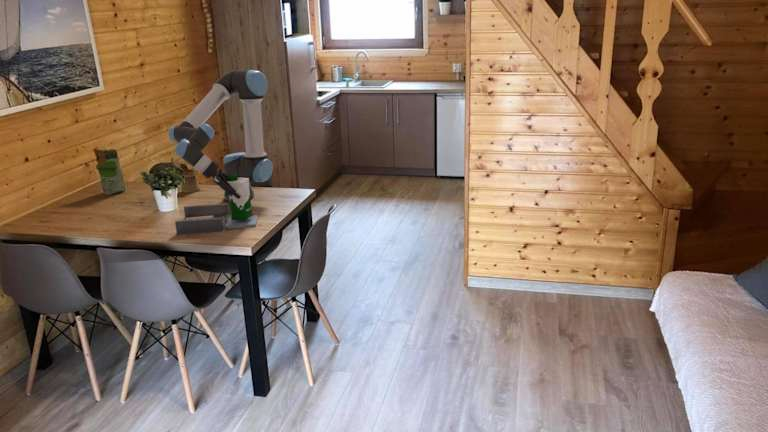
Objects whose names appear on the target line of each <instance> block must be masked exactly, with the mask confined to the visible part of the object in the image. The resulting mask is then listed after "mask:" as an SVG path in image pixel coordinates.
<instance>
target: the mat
mask: <svg viewBox="0 0 768 432" xmlns="http://www.w3.org/2000/svg"><path fill="white" fill-rule="evenodd" d="M258 219H259V215H258V214H255V215H253V214H252V216H251V217H249V218H248V219H247V220H231V216H229V217H228V220H227V223H226V225H225V228H226V229H237V228H251V227H257V224H258V223H257V222H258Z"/></svg>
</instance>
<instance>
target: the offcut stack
mask: <svg viewBox="0 0 768 432" xmlns="http://www.w3.org/2000/svg"><path fill="white" fill-rule="evenodd" d="M207 218H215V217H213V215H212V216H201V217H190V218H186V219H185V220H193V219H207Z"/></svg>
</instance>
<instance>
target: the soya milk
mask: <svg viewBox="0 0 768 432" xmlns="http://www.w3.org/2000/svg"><path fill="white" fill-rule="evenodd" d="M228 179H229V180H228V181H227V182H228V183H229V184H230V185H231V187H232V188H233V189H234V190H235V191H236V190H237V191H238V192H239V193H240V194H242V195H243V196H244V197H246V198H247V199H248V201H247V202H246V203H245V204H243V203H242V202H240V201H239V200H238V199H237V198H235V197H234V196H233V195H232V196H230V195H229V201H228V202H229V208H230V209H229V211H230V217H231V220H247V219H248V218H249V217H251V216H252V215H253V211H252V201H251V200H252V199H250V190H249V182H250V180H249V178H243V177H241V178H238V177H237V174H231V175H228Z"/></svg>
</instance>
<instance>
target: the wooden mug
mask: <svg viewBox="0 0 768 432" xmlns="http://www.w3.org/2000/svg"><path fill="white" fill-rule="evenodd" d="M170 164H171V165H172V166H173V167H174V168H175V169H176V170H179V171H180V172H181V176H182V175H183V176H184V178H185V183H183V184H182V183H181V185H182V187H181V192H183V194H184V193H185V194H190V193H196V192H199V191H200V186H199V183H198V180H197V177H196V175H197V174H196V172H195V171H194V170H195V169H194V168H192V169H185V170H184V169H183V168H182V165H181V163H180V161H178V159H175V158H172V157H171V158H170Z"/></svg>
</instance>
